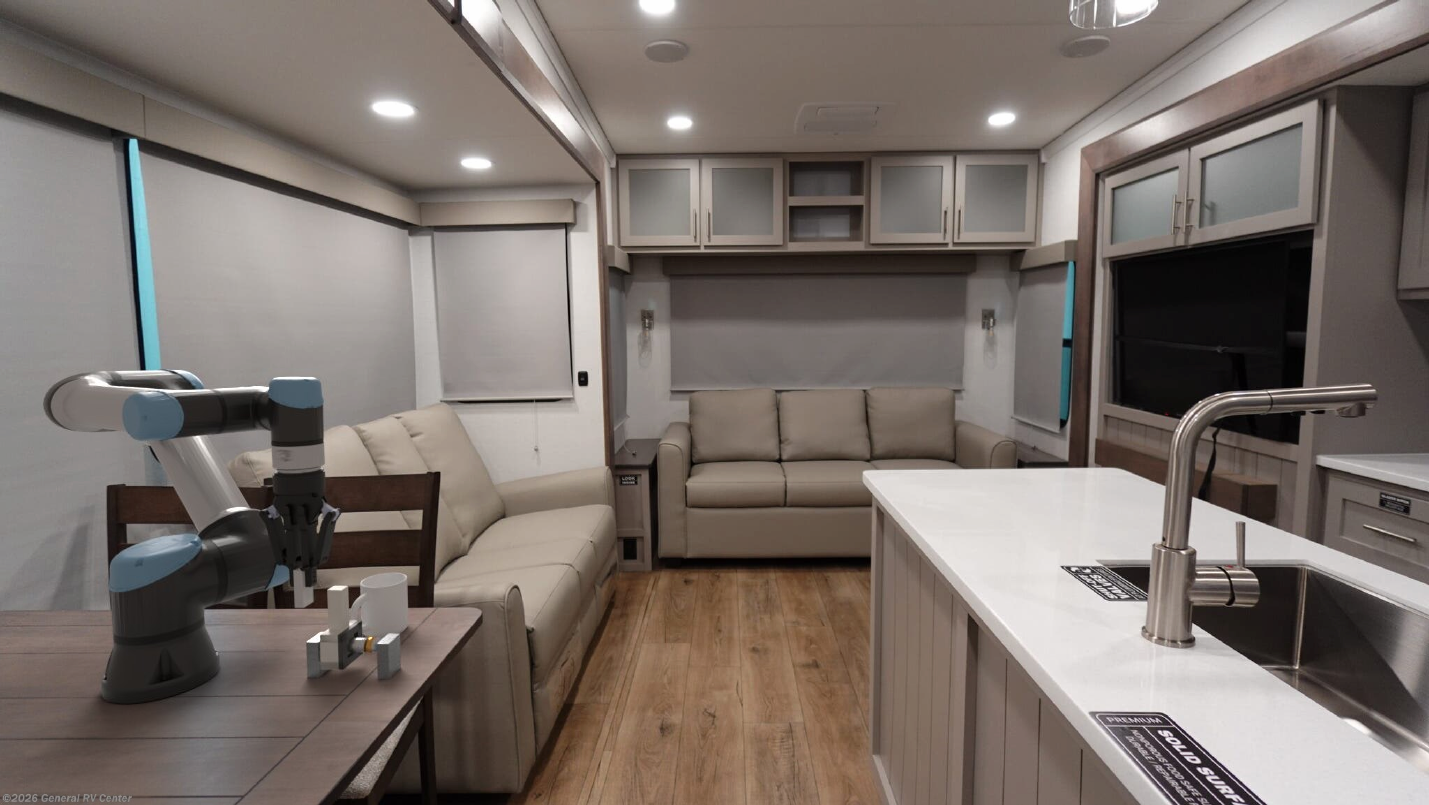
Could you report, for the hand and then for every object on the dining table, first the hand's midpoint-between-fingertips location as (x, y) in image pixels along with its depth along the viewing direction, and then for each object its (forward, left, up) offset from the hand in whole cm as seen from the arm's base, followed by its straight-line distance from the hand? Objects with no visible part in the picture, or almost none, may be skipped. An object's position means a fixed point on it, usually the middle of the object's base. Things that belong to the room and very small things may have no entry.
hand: (304, 604), depth 112 cm
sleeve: (+6, 0, -10) cm, 12 cm away
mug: (+4, +15, -12) cm, 20 cm away
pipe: (+8, 0, -12) cm, 15 cm away
